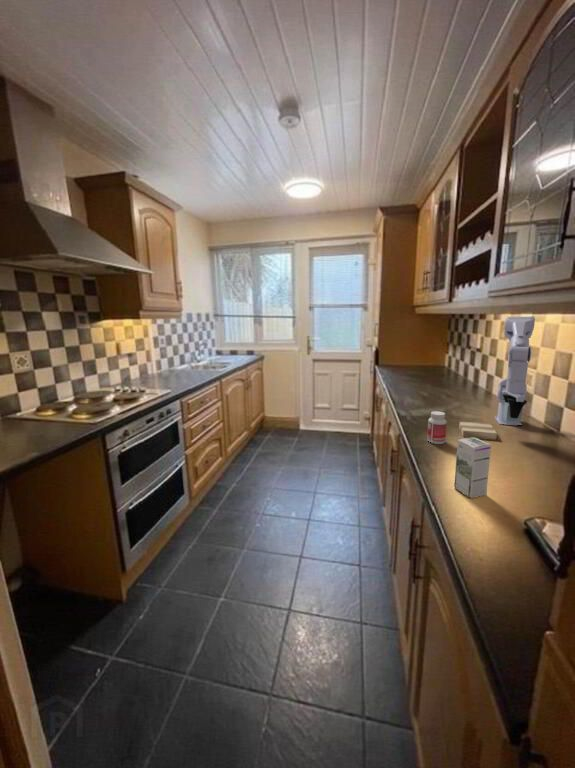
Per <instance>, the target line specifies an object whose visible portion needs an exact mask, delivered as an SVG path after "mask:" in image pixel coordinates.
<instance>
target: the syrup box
mask: <svg viewBox="0 0 575 768" xmlns="http://www.w3.org/2000/svg"><path fill="white" fill-rule="evenodd" d="M456 446H457V447H456V459H455V473H454V485H453V486H454V487H455V488H456V489H458V490H459V491H461V492H462V493H464V494H465V495H467V496H468V497H476V496H480V497H483V496H482V495H484V496H487V491H488V481H489V470H490V463H491V462H490V460H491V452H492V444H491V443H489V442H487V441H484V440H481V439H480V438H475V437H463V438H460V439H457V445H456ZM455 488H454V489H455ZM456 489H455V490H456ZM458 490H457V491H458ZM459 491H458V492H459ZM461 492H460V493H461ZM462 493H461V494H462ZM464 494H463V495H464ZM465 495H464V496H465ZM467 496H466V497H467ZM468 497H467V498H468ZM476 498H477V497H476Z"/></svg>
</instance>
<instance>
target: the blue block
mask: <svg viewBox="0 0 575 768" xmlns="http://www.w3.org/2000/svg"><path fill="white" fill-rule="evenodd" d="M522 414H523V408H522V409H521V412H520V414H519V416H518V418H511V417H510V407H509V403H507V402H505V405H504V413H503V418H504V419H505V421H507V422H520V423H521V422H522Z"/></svg>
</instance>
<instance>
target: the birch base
mask: <svg viewBox="0 0 575 768" xmlns="http://www.w3.org/2000/svg"><path fill="white" fill-rule="evenodd" d="M458 427H459V430H460V433H461V435H462V437H463V438H468V437H475V438H477V439H485V440H493V441H494V440H495V441H496V440H497V437H498V432H497V431H496V430H495V428H494V426H493V425H492V424H491V423H487V422H486V423H483V422H472V421H470V422H469V421H459V426H458Z"/></svg>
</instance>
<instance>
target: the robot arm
mask: <svg viewBox="0 0 575 768" xmlns="http://www.w3.org/2000/svg"><path fill="white" fill-rule="evenodd" d="M535 320H536V317H534V315H532V316H506V317H505V320H504V327H503V328H504V329H503V331H504V333H503V335H504V338H505V339H508V341H509V348H508V355H507V366H508V368H507V376H506V378H505V379H502V380H500V381H499V383H498V387H497V398H496V399H497V400H498V401H499V403H498V407H497V416H494V419H495V421H497V422H498V424H499V425H503V424H504V425H505V426H517V425H522V426H523V424H522V423H521V422H507V421H505V419H504V418H503V413H504V405H505V402H507V403H509V407H510V417H511V418H518V416H519V414H520V412H521V409H522V410H523V408H524V406H525V405H526V404H527V403H528V402H527V392H528V390H527V386H528V385H527V382H526V381H527V375H528V368H529V367H528V366H529V363H530V361H531V357H532V346H531V345H530V339H531V337H532V335H533V332H534V328H535Z"/></svg>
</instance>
